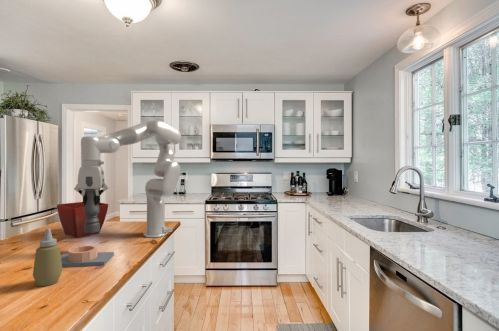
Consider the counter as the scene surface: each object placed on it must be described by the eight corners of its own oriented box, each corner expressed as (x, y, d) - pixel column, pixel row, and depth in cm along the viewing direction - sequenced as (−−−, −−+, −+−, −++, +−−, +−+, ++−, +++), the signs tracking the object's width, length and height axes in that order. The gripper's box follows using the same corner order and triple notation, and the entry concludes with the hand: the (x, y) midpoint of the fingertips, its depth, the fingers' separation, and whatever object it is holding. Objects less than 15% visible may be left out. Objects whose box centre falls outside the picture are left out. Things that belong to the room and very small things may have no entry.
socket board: (113, 255, 120) (114, 243, 120) (104, 265, 108) (104, 252, 108) (63, 257, 117) (63, 245, 117) (47, 267, 105) (48, 254, 105)
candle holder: (92, 233, 121) (92, 176, 120) (80, 232, 122) (79, 176, 122) (103, 229, 127) (102, 175, 126) (91, 229, 128) (90, 175, 128)
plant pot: (109, 233, 157) (109, 203, 157) (73, 240, 141) (73, 208, 141) (91, 228, 167) (91, 200, 167) (55, 235, 151) (55, 204, 151)
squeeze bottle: (43, 278, 96) (43, 226, 96) (67, 277, 97) (67, 226, 97) (26, 288, 88) (26, 232, 88) (52, 288, 89) (53, 232, 89)
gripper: (113, 163, 129) (114, 202, 129) (74, 163, 126) (75, 203, 127) (108, 164, 122) (108, 205, 122) (66, 164, 119) (67, 206, 119)
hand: (91, 204), depth 124 cm, fingers closed on candle holder, 4 cm apart
